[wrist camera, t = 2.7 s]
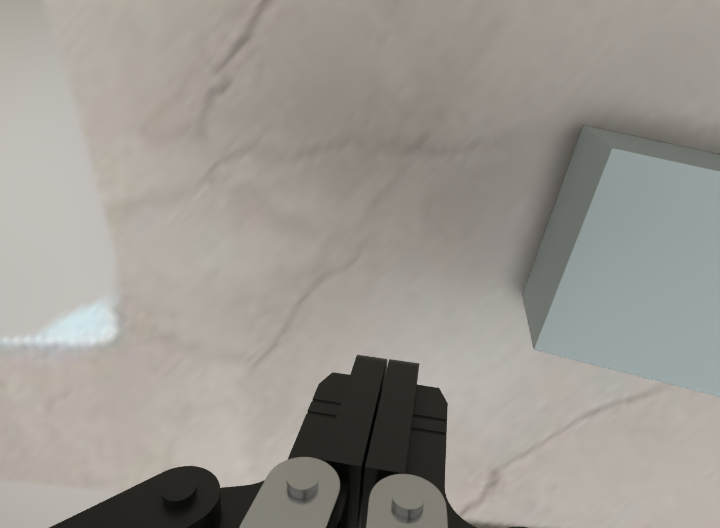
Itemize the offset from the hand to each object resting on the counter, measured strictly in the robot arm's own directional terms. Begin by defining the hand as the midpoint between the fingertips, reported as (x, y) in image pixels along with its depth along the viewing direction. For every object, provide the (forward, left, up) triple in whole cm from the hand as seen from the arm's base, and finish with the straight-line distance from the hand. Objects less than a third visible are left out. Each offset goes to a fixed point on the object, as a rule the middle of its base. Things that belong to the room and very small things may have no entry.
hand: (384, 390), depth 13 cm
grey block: (0, +11, -13) cm, 17 cm away
